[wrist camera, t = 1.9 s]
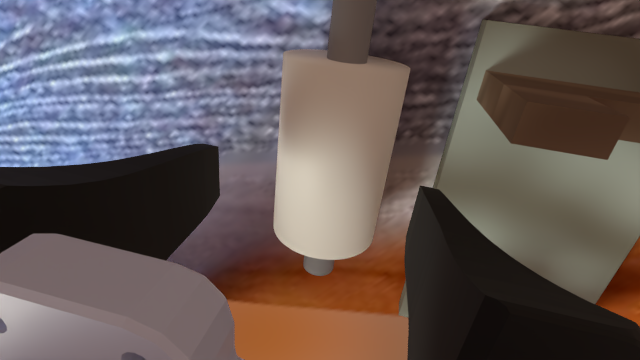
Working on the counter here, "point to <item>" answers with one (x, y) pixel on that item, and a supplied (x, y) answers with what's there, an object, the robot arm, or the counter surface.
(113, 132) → the counter surface
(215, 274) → the counter surface
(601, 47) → the roll holder
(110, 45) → the counter surface
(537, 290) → the robot arm
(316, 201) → the paper roll
